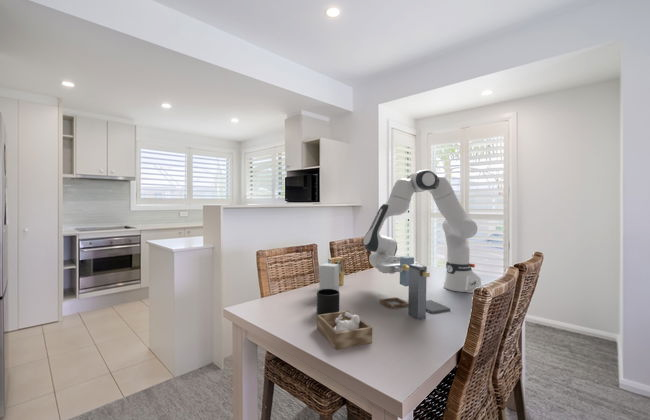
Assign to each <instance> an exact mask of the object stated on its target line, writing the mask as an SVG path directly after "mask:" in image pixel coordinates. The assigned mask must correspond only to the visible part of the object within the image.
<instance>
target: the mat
mask: <svg viewBox="0 0 650 420" xmlns="http://www.w3.org/2000/svg"><path fill="white" fill-rule="evenodd" d="M426 312H428V313H430V314H433V315H434V314H438V313H444V312H451V308H450V307H448V306H447V305H443V304H441V303H439V302H437V301H434V300H431V299H426Z"/></svg>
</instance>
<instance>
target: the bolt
mask: <svg viewBox="0 0 650 420" xmlns="http://www.w3.org/2000/svg"><path fill="white" fill-rule="evenodd" d="M402 270H403V271H404V270H407V271H409V266H408V265H407V264H405V265H402ZM421 275H422V276H425V277H427V278H430V275H431V274H430V272H429V271H427V272H426V271H422V270H421Z"/></svg>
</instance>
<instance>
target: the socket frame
mask: <svg viewBox="0 0 650 420" xmlns="http://www.w3.org/2000/svg"><path fill="white" fill-rule="evenodd" d="M393 301H394V302H395V301H396V302H399V303H397V304H390V303H388V302H393ZM379 303H381V304H382V305H384V306H386V307H388V308H389V309H391V310H392V309H398V308H404V307H405V308H406V307H408V302H407V301H405V300H403V299H401V298H399V297H396V296H395V297H394V296H393V297H386V298H381V299H379Z"/></svg>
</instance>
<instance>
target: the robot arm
mask: <svg viewBox="0 0 650 420" xmlns="http://www.w3.org/2000/svg"><path fill="white" fill-rule="evenodd" d="M425 191H428V192H429V193H430V194H431V197H432V199H433V200H434V201H433V202H434V203H435V206H436V207H437V209H438V211H439V213H440V214H441V215H442V216H443V218H444V220H443V222H442V229H443V232H444V236H445V242H446V247H447V251H446V253H447V254H446V255H447V257H446V258H447V259H446V264H445V268H446V271H445V278H444V279H445V280H444V282H443V285H442V286H443V289H447V290H449V291H453V292H461V293H462V292H463V293H470V294H473V293H474V292H473V290H474V289H475V288H476V287H479V286H484V285H483V284H482V280H481V277H480V276H479V275H478V274H477V273H476V272H474V271H473V270H472V269H473V268H475V267H476V265H475V263H470V247H469V246H468V243H467V239H470V238H473V237H475V236H476V235H477V233H478V225H477V223H476V222H475V221H474V220H473V219H472V218H471V217H470V215H469V214H468V213H467V212H466V210H465V209H464V208H463V206H462V205H461V202H460V201H459V199H458V197H457V194H456V193H455V191H454V189H453V186H452V185H451V183H450V182H449V181H448V179H447V177H445V176H444V175H437V174H436V173H435V172H434V171H432V170H431V169H422V170H417V171H415V172H414V173H412V174H410V175H409V176H408V177H407V178H399V179H397V180H396V182H395V183H394V185H393V187H392V189H391V191H390V195H389V196H388V197H389V198H388V199H387V201H386V202H385V203H383V204H382V205H381V206H380V207H379V209H378V211H377V213H376V215H375V217H374V219H373V221H372V223H371V225H370V227H369V229H368V231H367V233H366V234H365V236H364V237H363V240H362V241H363V242H362V243H363V246H364V248H365V250H367V251H368V252H371V253H370V254H369V257H368V261H369V263H370V265H371V266H372V267H374V268H375V269H377V270H378V271H379V272H380V273H383V274H390V275H392V274H396V273H400V272H401V273H402V272H404V271H403V270H402V268H400V256H396V254H397V251H398V244H397V241H396V239H395V238H393V237H390V236H387V235H384V234H380V232H381V229H382V227H383V225H384V224H385V221H386V219H389V217H393V216H394V217H395V216H401V215H403V214H405V213H406V212H407V211H408V209H409V206H410V204H411V200H412V197H413V195H414V193H421V192H422V193H423V192H425ZM414 264H419V263H418V262H417V261H415V260H414Z"/></svg>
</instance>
